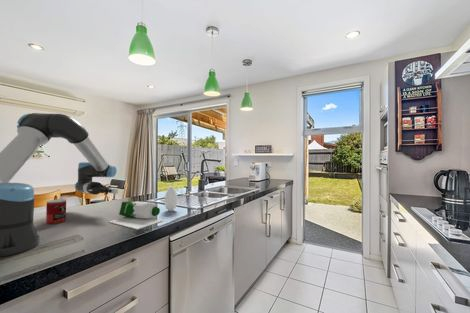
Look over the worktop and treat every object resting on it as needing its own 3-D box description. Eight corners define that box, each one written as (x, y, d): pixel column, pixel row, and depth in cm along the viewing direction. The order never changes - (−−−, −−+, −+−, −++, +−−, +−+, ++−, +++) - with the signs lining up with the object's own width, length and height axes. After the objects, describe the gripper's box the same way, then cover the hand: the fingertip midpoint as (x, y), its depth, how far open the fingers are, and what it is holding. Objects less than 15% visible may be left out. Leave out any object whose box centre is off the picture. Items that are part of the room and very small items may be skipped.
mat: (162, 221, 110) (162, 220, 110) (137, 229, 97) (137, 228, 97) (135, 215, 120) (135, 214, 120) (109, 222, 107) (109, 221, 107)
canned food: (54, 224, 103) (55, 202, 103) (41, 223, 104) (42, 201, 105) (69, 220, 110) (70, 199, 110) (57, 219, 112) (58, 198, 112)
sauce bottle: (173, 212, 128) (174, 183, 128) (162, 211, 129) (162, 182, 130) (179, 209, 136) (179, 181, 136) (168, 209, 137) (168, 181, 137)
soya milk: (129, 217, 121) (158, 220, 115) (116, 216, 113) (147, 219, 107) (132, 201, 124) (161, 203, 118) (121, 199, 116) (151, 201, 110)
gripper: (104, 192, 135) (127, 196, 123) (81, 195, 123) (104, 199, 112) (104, 180, 135) (127, 183, 123) (81, 182, 123) (104, 185, 112)
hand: (116, 191), depth 118 cm, fingers closed
